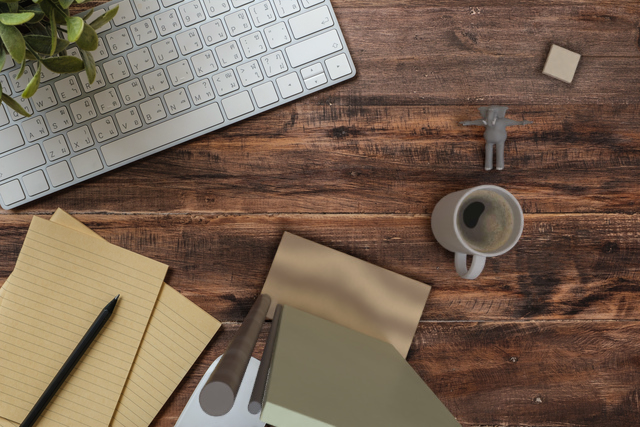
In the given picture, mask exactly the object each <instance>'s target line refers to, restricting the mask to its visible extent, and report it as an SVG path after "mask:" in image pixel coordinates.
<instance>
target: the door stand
mask: <svg viewBox="0 0 640 427" xmlns="http://www.w3.org/2000/svg"><path fill="white" fill-rule="evenodd" d="M431 290H432V286H431V285H430V284H427V283H424V282H422V281H419V280H416V279H415V278H411V277H409V276H406V275H404V274H400V273H397V272H395V271H392V270H389V269H387V268H385V267H383V266H379V265H377V264H374V263H371V262H370V261H366V260H364V259H361V258H358V257H356V256H352V255H350V254H347V253H346V252H343V251H340V250H336V249H334V248H332V247H329V246H326V245H324V244H321V243H319V242H316V241H313V240H311V239H308V238H305V237H302V236H300V235H297V234H295V233H292V232H289V231H287V230H284V232H283V234H282V237H281V239H280V242H279V243H278V247H277V250H276V253H275V255H274V258H273V260H272V263H271V266H270V269H269V271H268V273H267V276H266V279H265V282H264V284H263V287H262V289H261V292H260V294H259V295H258V296H257V298H256V299H255V301H254V303H252V304H253V305H252V306H251V308H250V309H249V311H248V313H247V314H246V316H245V317H244V319H243V321H242V322H241V324H240V326H239V327H238V329H237V330H236V332H235V334H234V335H233V338H232V339H231V340H230V342H229V344H228V345H227V347H226V348H225V350H224V352H223V354H222V355H221V356H220V359H219V360H218V362H217V364H216V365H215V367H214V368H213V370H212V371H211V373H210V375H209V377H208V378H207V380H206V381H205V383H204V385H203V386H202V388H201V389H200V391H199V395H198V402H199V407H200V409H201V410H202V411H203V412H204V413H205V414H206V415H208V416H211V417H214V418H215V417H217V418H218V417H223V416H225V415H227V414H229V412H230V411H231V410H232V408H233V407H234V405H235V402H236V399H237V397H238V393H239V391H240V388H241V385H242V383H243V380H244V377H245V375H246V372H247V369H248V367H249V364H250V361H251V359H252V356H253V353H254V351H255V348H256V345H257V343H258V340H259V337H260V334H261V331H262V329H263V326H264V324H265V321H266V318H267V319H270V320H272V319H273V316H274V312H275V309H276V305H277V304H281V305H282V308H283V305H284V304H285V305H288V306H291V307H293V308H296V309H299V310H301V311H304V312H307V313H309V314H312V315H315V316H317V317H320V318H323V319H325V320H328V321H331V322H334V323H336V324H339V325H342V326H344V327H347V328H350V329H352V330H355V331H358V332H360V333H363V334H366V335H368V336H371V337H374V338H376V339H379V340H382V341H384V342H387V343H390V344H392V345H393V346H394V347H395V348H396V349H397V351H398V352H399V353H400V354H401V355H402V356H403V358H404V359H405V360H406V358H407V356H408V353H409V350H410V347H411V345H412V342H413V340H414V337H415V334H416V331H417V328H418V325H419V323H420V320H421V317H422V315H423V313H424V312H423V311H424V309H425V306H426V303H427V301H428V298H429V295H430V293H431ZM281 311H282V309H281ZM280 315H281V314H280ZM279 320H280V319H279Z"/></svg>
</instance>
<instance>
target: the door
mask: <svg viewBox="0 0 640 427" xmlns="http://www.w3.org/2000/svg"><path fill="white" fill-rule="evenodd" d="M281 309H282V311H281ZM280 314H281V315H280ZM279 319H280V320H279ZM250 393H251V394H250V397H249V401H248V404H247V411H248V413H249V414H251V415H258V414H259V413H260V414H259V421H260V422H262V423H265V424H268V425H270V426H273V427H463V425H462V424H461V423H460V422H459V421H458V419H457V418H456V417H455V416H454V415H453V414H452V412H451V411H450V410H449V409H448V408H447V406H445V404H444V403H443V402H442V401H441V400H440V398H439V397H437V395H436V394H435V393H434V391H433V390H432V389H431V388H430V386H428V384H427V383H426V382H425V381H424V379H422V378H421V376H420V374H418V373H417V372H416V370H414V368H413V367H412V366H411V365H410V363H409V362H408V361H407V360H406V359H404V358H403V356H402V355H401V354H400V353H399V352H398V351H397V349H396V348H395V347H394V346H393V345H392V344H390V343H387V342H384V341H382V340H379V339H376V338H374V337H371V336H368V335H366V334H363V333H360V332H358V331H355V330H352V329H350V328H347V327H344V326H342V325H339V324H336V323H334V322H331V321H328V320H325V319H323V318H320V317H317V316H315V315H312V314H309V313H307V312H304V311H301V310H299V309H296V308H293V307H291V306H288V305H285V304H284V305H283V308H282V305H281V304H277V305H276V309H275V312H274V316H273V319H271V323H270V326H269V330H268V334H267V337H266V341H265V343H264V347H263V351H262V354H261V358H260V362H259V365H258V368H257V372H256V376H255V379H254V382H253V386H252V389H251V392H250Z"/></svg>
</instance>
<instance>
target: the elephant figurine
mask: <svg viewBox="0 0 640 427" xmlns="http://www.w3.org/2000/svg"><path fill="white" fill-rule="evenodd" d="M509 109H510V107H508V106H507V105H498V104H492V105H489V106H483V105H481V106H479V107H478V108H477V110H478V111H479V113H480V117H481V118H477V119H474V120H469V119H467V120H463V121H459V122H458V123H459V125H460V124H462V126H477V127H478V126H479V127H480V126H481V127H484V128H485V130H484V132H483V139H484V141H485V146H484V148H485V150H484V151H485V160H484V170H485V171H490V170H493V168H494V167H493V166H494V165H493V159H494V146H495V151H496V152H495V154H496V155H495V156H496V157H495V158H496V159H495V160H496V161H495V162H496V164H495V167H496V170H497V171H501V170H504V169H505V158H504V157H505V156H504V155H505V154H504V153H505V152H504V151H505V142H506V140H507V138H508V132H507V128H506V127H512V126H525V125H528V124H529V125H531V124H533V123H534V121H533V120H527V119H523V120H516V119H511V118H507V117H506V116H505V115H506V112H507V111H508V110H509Z"/></svg>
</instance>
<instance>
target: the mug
mask: <svg viewBox="0 0 640 427" xmlns="http://www.w3.org/2000/svg"><path fill="white" fill-rule="evenodd" d="M524 222H525V220H524V212H523V209H522V206H521V204H520V203H519V201H518V199H517V198H516V197H515V196H514V195H513V194H512V193H511V192H510V191H508V190H507V189H505V188H503V187H501V186H499V185H494V184H481V185H478V186H473V187H469V188H465V189H461V190H458V191H453V192H451V193H447V194H446V195H445V196H443V197H442V198H441V199H440V200H438V202H436V204H435V205H434V207H433V210H432V213H431V217H430V225H431V226H430V227H431V231H432V234H433V236H434V238H435V239H436V241H437V243H439V245H440V246H441V247H442V248H444V249H445V250H448V251H449V252H451V253H454V269H455V271H456V273H457V275H458V276H459V278H461V279H466V280H475V279H477V278H478V277H479V276H480V275H481V273H482V272H483V270H484V268H485V264H486V260H487V258H493V257H497V256H498V257H499V256H501V255H504V254H506V253H507V252H509V251H510V250H511V249H512V248H514V247H515V245H517V243H518V242H519V240H520V238H521V236H522V233H523V230H524V224H525V223H524ZM467 255H470V256H472V260H471V264H470V266H469V269H468V268H467Z"/></svg>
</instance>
